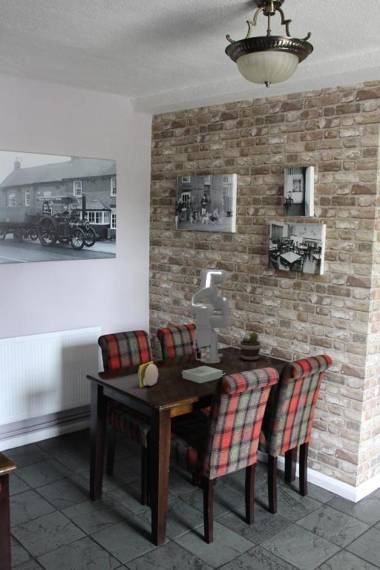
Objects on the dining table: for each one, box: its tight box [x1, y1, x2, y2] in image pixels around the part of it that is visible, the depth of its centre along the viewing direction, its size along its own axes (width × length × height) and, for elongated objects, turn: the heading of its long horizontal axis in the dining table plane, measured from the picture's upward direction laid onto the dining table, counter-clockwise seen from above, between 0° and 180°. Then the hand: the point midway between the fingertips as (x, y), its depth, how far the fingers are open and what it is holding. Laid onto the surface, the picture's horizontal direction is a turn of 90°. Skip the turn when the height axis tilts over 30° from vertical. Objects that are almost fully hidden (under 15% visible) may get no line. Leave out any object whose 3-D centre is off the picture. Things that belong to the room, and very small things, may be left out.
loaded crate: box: [195, 347, 209, 362], centre depth 327 cm, size 6×6×7 cm
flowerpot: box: [238, 330, 262, 362], centre depth 370 cm, size 14×15×20 cm
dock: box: [182, 365, 224, 384], centre depth 328 cm, size 18×15×4 cm
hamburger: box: [137, 360, 159, 388], centre depth 314 cm, size 12×8×12 cm
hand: (202, 357), depth 327 cm, fingers closed on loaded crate, 5 cm apart
